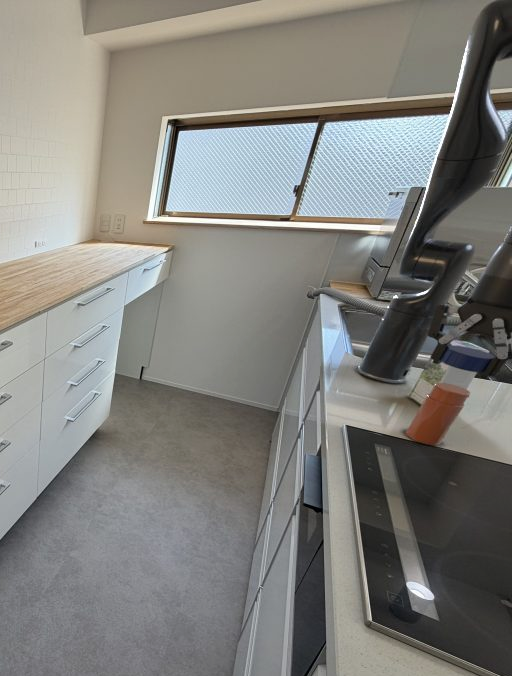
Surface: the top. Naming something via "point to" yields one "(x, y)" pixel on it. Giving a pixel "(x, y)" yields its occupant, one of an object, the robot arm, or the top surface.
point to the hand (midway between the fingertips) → (460, 369)
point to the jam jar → (437, 413)
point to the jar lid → (466, 358)
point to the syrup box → (442, 375)
